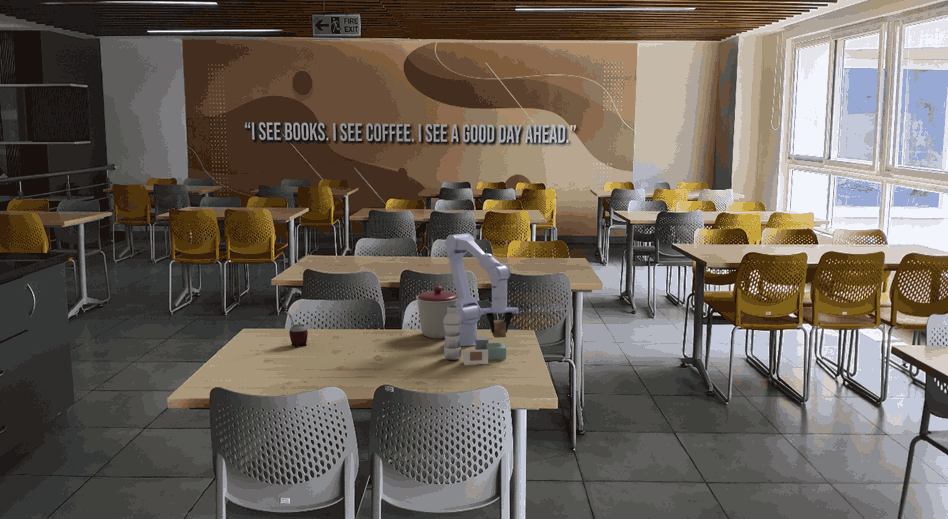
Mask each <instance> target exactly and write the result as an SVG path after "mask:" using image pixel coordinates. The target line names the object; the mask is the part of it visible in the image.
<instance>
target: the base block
mask: <svg viewBox="0 0 948 519" xmlns="http://www.w3.org/2000/svg"><path fill="white" fill-rule="evenodd" d="M486 350H488V359H497V360H507V347H506V344H505V342H488V343H486Z"/></svg>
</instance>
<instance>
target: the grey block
mask: <svg viewBox="0 0 948 519" xmlns="http://www.w3.org/2000/svg"><path fill="white" fill-rule="evenodd" d="M486 343H489V338H488V336H477V337H475V346H474V347H475V349H474V350H486Z"/></svg>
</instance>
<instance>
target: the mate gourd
mask: <svg viewBox="0 0 948 519" xmlns="http://www.w3.org/2000/svg"><path fill="white" fill-rule="evenodd" d="M284 312H285V314H287V315H288V317H289V318H290V320H291V324H292V325H291V327H290V328H289V332H288V333H289V338H290V345H291V346H295V348H296V349H297V348H299V347H307V346H308V345H307V342H308V335H309V331H308V328H307V326H306V325H305V324H301V323H300V324H299V323H298V324H295V322H294V320H293V317H292V316H293V315H291V313H289V312H288V311H286V310H284Z"/></svg>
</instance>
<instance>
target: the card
mask: <svg viewBox="0 0 948 519" xmlns="http://www.w3.org/2000/svg"><path fill="white" fill-rule="evenodd" d="M462 351H463V352H462V353H463V358H462V360H463V361H462V363H464V364H463V366H477V364H483V365H489V360H488V350H475V349H465V350H464V349H463V350H462Z"/></svg>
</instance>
